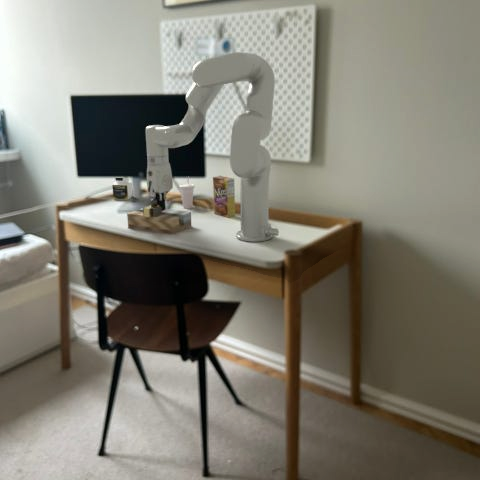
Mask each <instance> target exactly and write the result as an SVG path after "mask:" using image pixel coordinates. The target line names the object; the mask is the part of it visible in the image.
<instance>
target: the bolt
mask: <svg viewBox="0 0 480 480" xmlns="http://www.w3.org/2000/svg"><path fill="white" fill-rule="evenodd" d="M149 201H150V202H149V203H150V204H149V205H150V206H149V205H148V206H149V207H146V206H145V207H146V208H144V217H151V216H153V210H152V209H153V208H156V207H159V205H157V199H154V198H150V199H149Z"/></svg>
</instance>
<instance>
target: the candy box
mask: <svg viewBox="0 0 480 480" xmlns="http://www.w3.org/2000/svg"><path fill="white" fill-rule="evenodd" d="M212 185H213V186H212V187H213V189H212V190H213V214H216V215H219V216H223V217H226V218H231V217H235V216H236V203H235V202H236V201H235V196H236V195H235V193H236V192H235V188H236V187H235V178H232V177H227V176H222V175H216V176H213V177H212Z"/></svg>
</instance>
